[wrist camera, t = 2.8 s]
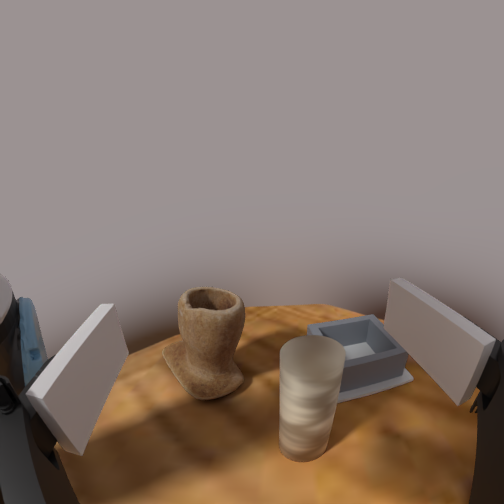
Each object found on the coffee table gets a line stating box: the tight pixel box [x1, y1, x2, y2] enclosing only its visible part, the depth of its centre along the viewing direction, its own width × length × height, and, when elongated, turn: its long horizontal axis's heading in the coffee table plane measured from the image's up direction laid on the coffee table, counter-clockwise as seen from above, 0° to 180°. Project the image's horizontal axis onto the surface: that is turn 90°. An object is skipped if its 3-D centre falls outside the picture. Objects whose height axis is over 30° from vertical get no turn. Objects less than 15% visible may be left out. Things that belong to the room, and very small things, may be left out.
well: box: [307, 314, 414, 403], centre depth 41 cm, size 16×16×6 cm
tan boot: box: [162, 287, 245, 400], centre depth 40 cm, size 15×12×15 cm
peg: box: [279, 335, 346, 462], centre depth 25 cm, size 6×6×15 cm
